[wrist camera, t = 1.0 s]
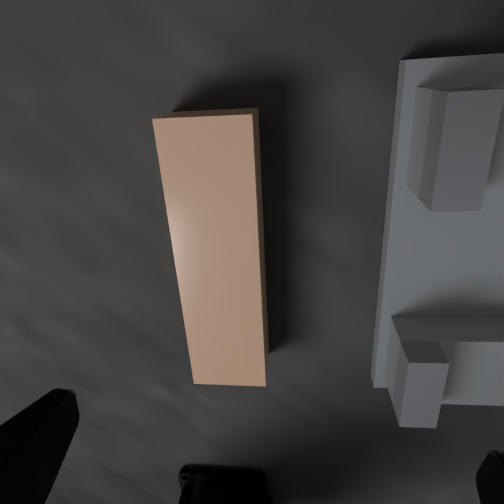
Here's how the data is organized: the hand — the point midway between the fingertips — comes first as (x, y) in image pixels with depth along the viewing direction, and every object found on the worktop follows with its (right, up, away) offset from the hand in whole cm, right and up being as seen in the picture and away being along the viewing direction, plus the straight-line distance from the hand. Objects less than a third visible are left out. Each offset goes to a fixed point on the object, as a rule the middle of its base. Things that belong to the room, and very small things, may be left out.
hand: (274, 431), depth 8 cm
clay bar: (-2, +4, +12) cm, 13 cm away
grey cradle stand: (+11, +4, +10) cm, 16 cm away
